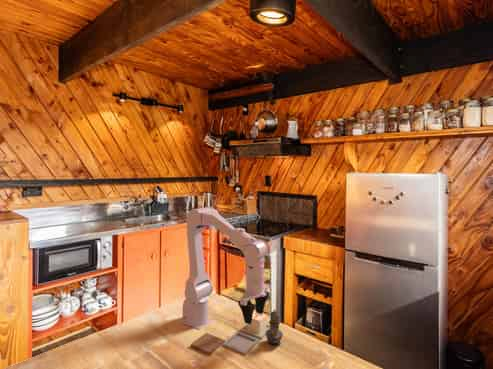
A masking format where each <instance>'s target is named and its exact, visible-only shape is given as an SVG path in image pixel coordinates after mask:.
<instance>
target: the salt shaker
mask: <svg viewBox="0 0 493 369" xmlns="http://www.w3.org/2000/svg"><path fill="white" fill-rule="evenodd" d="M268 324H270V329H269V330H267V331H266V332H265V334H266V335H265V337H266V339H267V341H266V344H267V345H268V346H269V347H272V348H278V347H280V346H281V340H282V337H284V333H283V331H282V330H280V324H281V323H280V313H279V312H278V311H277V310H276V309H273V311H271V312H270V320H269V322H268Z"/></svg>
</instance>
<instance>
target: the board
mask: <svg viewBox="0 0 493 369" xmlns="http://www.w3.org/2000/svg"><path fill="white" fill-rule="evenodd" d="M225 341H226V340H225V339H223V338H222V337H218V336H216V335H214V334H210V333H208V332H206V333H204V334H202V335H201V336H200V337H198V338H197V339H196V340H194V341H193V342H192V343H191V344H190V347H191V349H194V350H196V351H199V352H201V353H203V354H206V355H207V356H211V355H212V354H213V353H214V352H215V351H216V350H218V348H220V347H221V346H223V343H224V342H225Z"/></svg>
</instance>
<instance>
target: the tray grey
mask: <svg viewBox="0 0 493 369" xmlns="http://www.w3.org/2000/svg"><path fill="white" fill-rule="evenodd" d="M260 340H261V339H260V338H257V337H254V336H251V335H249V334H246V333H243V332H241V331H240V330H239V331H235V333H234V334H232V335H231V336H230V337H229V338H228V339H226V340H225V342H224V343H223V344H222V347H224V348H226V349H229V350H231V351H234V352H237V353H239V354H241V355H242V356H243V355H244V356H247V355H248V354H249V353H250V352H251V351H252V350H253V349H254V348H255V347H256V345H257V344H259V342H260Z"/></svg>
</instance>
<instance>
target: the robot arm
mask: <svg viewBox="0 0 493 369" xmlns="http://www.w3.org/2000/svg"><path fill="white" fill-rule="evenodd" d="M185 216H186V224H187V225H186V238H187V249H188V260H189V273H190V275H189V277H188V278H187V280H186V281H185V289H184V296H185V297H184V298H185V299H184V300H183V303H182V320H181V321H180V323H182V324H184V325H186V326H189V327H192V328H194V329H196V330H199V331H200V330H202V329H203V328H204V327H206V326H207V325H209V324H210V323H212V322H213V320H214V319H213V318H210V317H209V299H210V295H211V294H212V293H213V290H214V289H213V284H212V282H211V276H210V275H208V274H207V273H206V268H205V258H204V257H205V256H204V247H203V246H204V245H203V235H202V232H203V231H204V230H205V229H206V228H207V227H208V226H213V227H214V228H216V229H218V230H219V231H220V232H222V233H223V234H225V235H226V236H227V237H228V238H229V239H228V240H229V242H230V243H231V244H233V246H235V247H236V248H237V249H239V250H240V251H241V252H242V253H243V256H244V258H245V260H246V261H245V264H246V278H245V279H246V280H245V284H246V285H245V290H244V293H243V294H242V296H241V297H240V300H238V301H237V302H238V304H237V305H238V307H239V309H240V310H241V313H242V316H243V321H244V323H245V324H251V322H252V316H253V312H254V311H255V312H256V313H259V314H264V309H265V306H266V303H267V300H268V298H269V296H270V292H269V291H268V284H267V283H264V282H265V280H264V278H265V257H266V256H267V255H268V252H269V248H268V245H267V243H266V242H265V241H264V240H262V239H256V238H255V237H254V236H252V235H250V234H249V233H247V231H246V229H245V228H243V227H242V228H241V227H236V228H235V227H234V226H233V225H232V224H231V223H230V222H228V221H227V220H226V219H225V218H224V217H223V216H222V215H220V214H219V210H217V209H215V208H214V207H212V206H207V207H201V208H192V209H190V210H189V211H188V213H187V214H186V215H185ZM252 300H254V301H255V304H254V303H252Z"/></svg>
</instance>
